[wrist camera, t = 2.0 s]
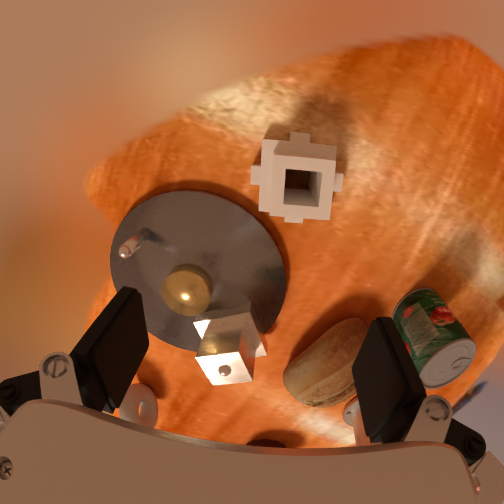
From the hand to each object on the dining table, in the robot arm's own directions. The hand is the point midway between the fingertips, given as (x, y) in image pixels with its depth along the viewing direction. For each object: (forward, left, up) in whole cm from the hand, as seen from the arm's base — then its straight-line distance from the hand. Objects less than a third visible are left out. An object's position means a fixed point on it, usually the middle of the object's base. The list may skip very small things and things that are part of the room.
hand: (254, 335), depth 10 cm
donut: (+19, +35, -20) cm, 44 cm away
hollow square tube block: (-3, -3, -20) cm, 20 cm away
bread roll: (-10, +20, -20) cm, 30 cm away
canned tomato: (-22, +13, -20) cm, 32 cm away
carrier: (+8, +10, -20) cm, 24 cm away
